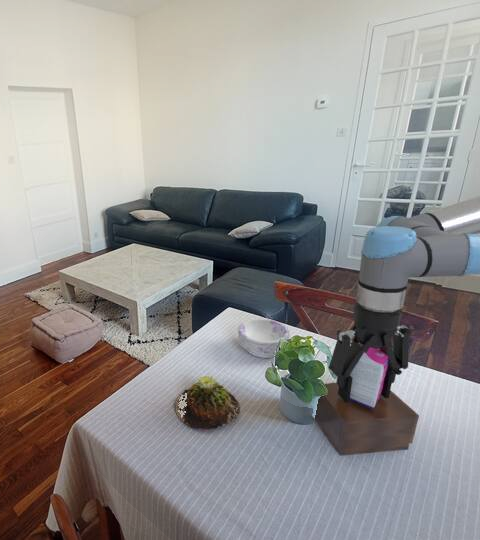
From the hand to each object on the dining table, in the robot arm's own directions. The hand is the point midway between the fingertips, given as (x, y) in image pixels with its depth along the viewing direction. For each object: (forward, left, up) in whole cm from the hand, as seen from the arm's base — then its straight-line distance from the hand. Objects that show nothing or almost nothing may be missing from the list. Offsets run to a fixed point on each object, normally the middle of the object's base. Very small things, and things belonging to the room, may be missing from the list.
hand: (362, 395), depth 75 cm
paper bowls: (+19, -30, -11) cm, 37 cm away
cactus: (+34, 0, -11) cm, 36 cm away
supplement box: (0, 0, 0) cm, 0 cm away
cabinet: (0, 0, -10) cm, 10 cm away
